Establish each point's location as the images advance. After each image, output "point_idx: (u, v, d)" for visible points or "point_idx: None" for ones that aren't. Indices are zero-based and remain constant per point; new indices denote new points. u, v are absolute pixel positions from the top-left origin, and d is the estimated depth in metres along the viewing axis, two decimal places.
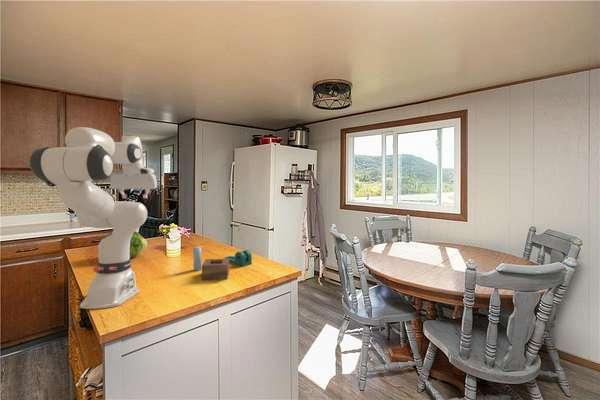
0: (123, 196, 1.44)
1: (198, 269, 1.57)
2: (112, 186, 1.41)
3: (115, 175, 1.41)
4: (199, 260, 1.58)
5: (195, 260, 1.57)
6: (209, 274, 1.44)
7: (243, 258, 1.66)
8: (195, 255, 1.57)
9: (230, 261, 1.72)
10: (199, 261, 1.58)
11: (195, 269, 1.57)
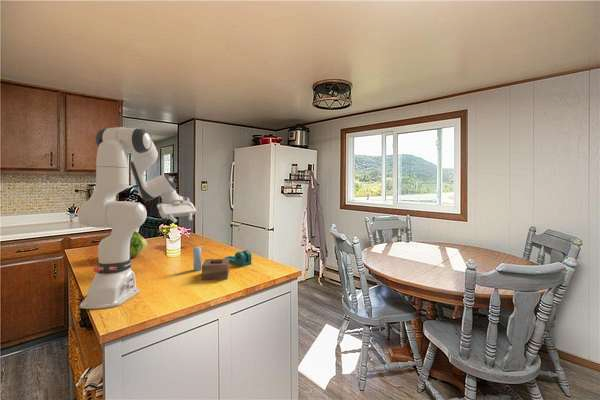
0: (175, 219, 1.61)
1: (198, 269, 1.57)
2: (165, 212, 1.59)
3: (164, 204, 1.62)
4: (199, 260, 1.58)
5: (195, 260, 1.57)
6: (209, 274, 1.44)
7: (243, 258, 1.66)
8: (195, 255, 1.57)
9: (230, 261, 1.72)
10: (199, 261, 1.58)
11: (195, 269, 1.57)
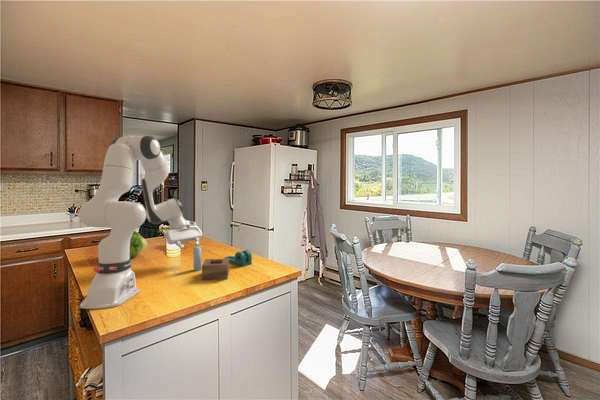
0: (182, 246, 1.58)
1: (198, 269, 1.57)
2: (172, 238, 1.56)
3: (170, 230, 1.59)
4: (199, 260, 1.58)
5: (195, 260, 1.57)
6: (209, 274, 1.44)
7: (243, 258, 1.66)
8: (195, 255, 1.57)
9: (230, 261, 1.72)
10: (199, 261, 1.58)
11: (195, 269, 1.57)
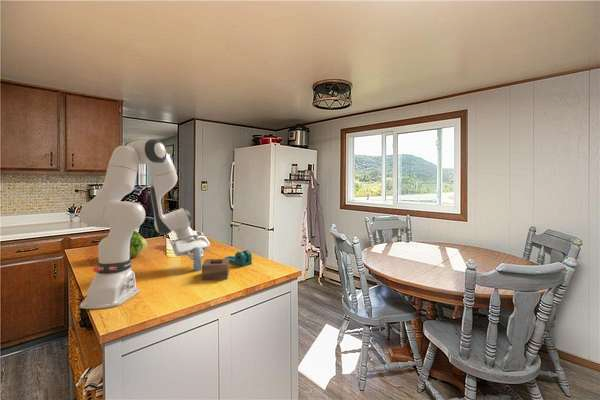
0: (193, 256, 1.56)
1: (198, 269, 1.57)
2: (179, 250, 1.52)
3: (178, 241, 1.56)
4: (199, 260, 1.58)
5: (195, 260, 1.57)
6: (209, 274, 1.44)
7: (243, 258, 1.66)
8: (195, 255, 1.57)
9: (230, 261, 1.72)
10: (199, 261, 1.58)
11: (195, 269, 1.57)
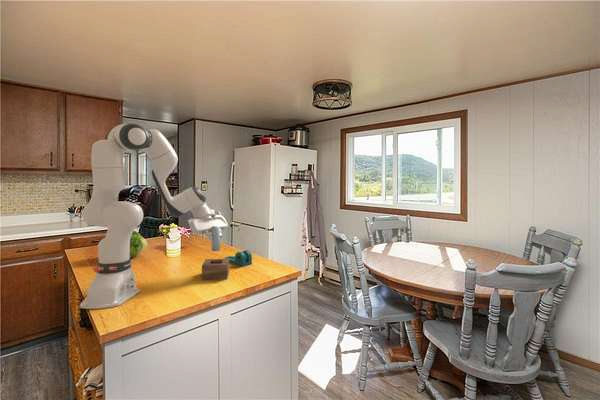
0: (211, 236, 1.46)
1: (216, 249, 1.48)
2: (197, 228, 1.43)
3: (195, 220, 1.46)
4: (218, 240, 1.48)
5: (213, 240, 1.47)
6: (209, 274, 1.44)
7: (243, 258, 1.66)
8: (213, 234, 1.47)
9: (230, 261, 1.72)
10: (218, 241, 1.48)
11: (213, 249, 1.47)
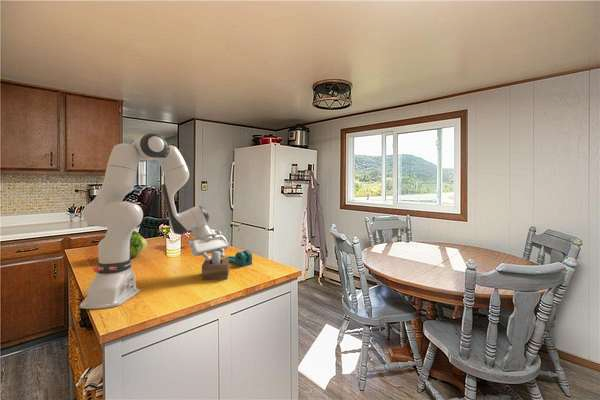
0: (209, 257, 1.45)
1: None
2: (197, 250, 1.43)
3: (196, 241, 1.46)
4: None
5: None
6: (209, 274, 1.44)
7: (243, 258, 1.66)
8: (214, 260, 1.47)
9: (230, 261, 1.72)
10: None
11: None
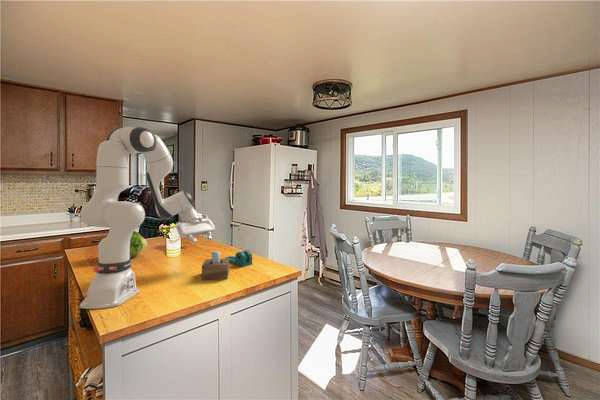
0: (194, 239, 1.51)
1: None
2: (184, 232, 1.49)
3: (182, 223, 1.52)
4: None
5: None
6: (209, 274, 1.44)
7: (243, 258, 1.66)
8: (214, 260, 1.48)
9: (230, 261, 1.72)
10: None
11: None
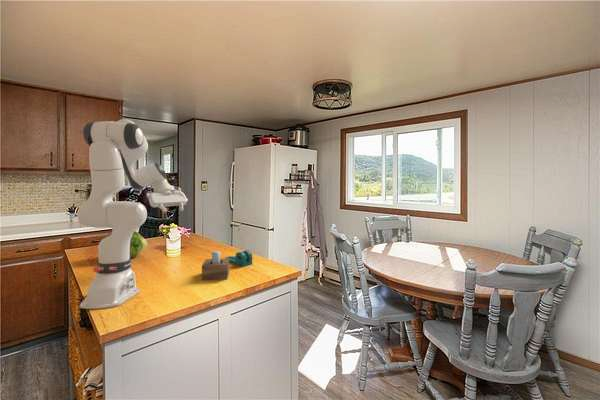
0: (165, 209, 1.56)
1: None
2: (154, 201, 1.54)
3: (154, 193, 1.57)
4: None
5: None
6: (209, 274, 1.44)
7: (244, 258, 1.66)
8: (214, 260, 1.48)
9: (231, 261, 1.72)
10: None
11: None
